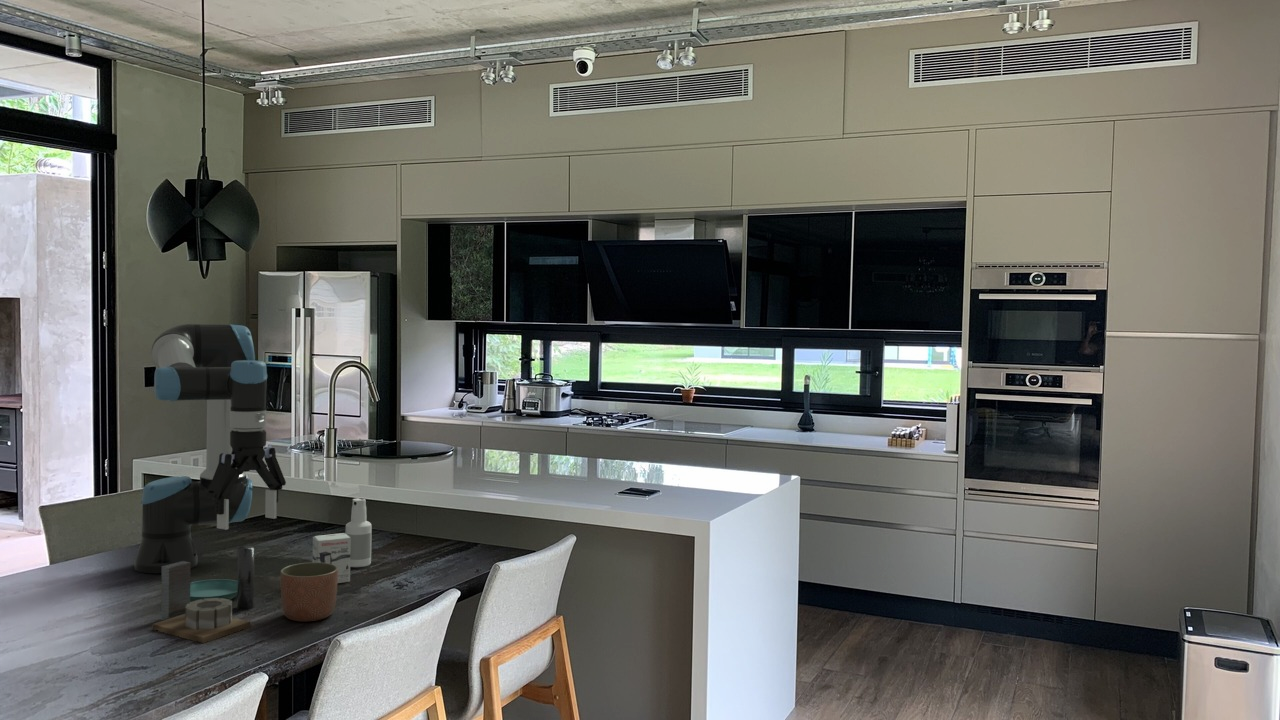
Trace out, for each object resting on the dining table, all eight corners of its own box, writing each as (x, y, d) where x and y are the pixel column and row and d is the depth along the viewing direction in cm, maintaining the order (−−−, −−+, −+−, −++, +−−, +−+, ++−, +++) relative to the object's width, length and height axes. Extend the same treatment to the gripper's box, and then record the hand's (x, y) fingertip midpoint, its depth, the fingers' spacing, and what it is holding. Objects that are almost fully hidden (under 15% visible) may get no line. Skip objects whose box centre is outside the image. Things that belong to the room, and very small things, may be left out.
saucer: (211, 611, 221) (211, 599, 221) (162, 602, 226) (162, 591, 226) (257, 594, 235) (257, 583, 234) (210, 586, 240) (210, 575, 239)
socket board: (152, 629, 206) (152, 605, 206) (200, 614, 217) (200, 592, 217) (203, 643, 199) (203, 618, 199) (250, 627, 210) (250, 603, 210)
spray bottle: (339, 565, 261) (340, 500, 260) (356, 560, 267) (357, 496, 267) (360, 568, 259) (361, 502, 258) (376, 563, 265) (377, 498, 264)
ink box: (316, 586, 242) (317, 540, 241) (311, 581, 246) (312, 535, 245) (350, 582, 246) (351, 536, 246) (345, 577, 251) (345, 532, 250)
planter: (304, 629, 210) (305, 579, 209) (268, 618, 216) (268, 570, 216) (348, 614, 220) (349, 568, 220) (312, 604, 227) (313, 559, 226)
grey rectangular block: (168, 621, 212) (168, 568, 211) (161, 619, 213) (161, 566, 212) (190, 614, 217) (190, 562, 216) (183, 613, 218) (183, 560, 217)
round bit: (233, 608, 223) (234, 548, 222) (246, 604, 226) (246, 545, 225) (244, 610, 221) (245, 550, 220) (257, 606, 224) (257, 547, 223)
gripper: (214, 435, 202) (213, 535, 203) (302, 425, 225) (301, 515, 226) (189, 433, 206) (188, 531, 207) (278, 423, 228) (277, 511, 229)
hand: (247, 523), depth 216 cm, fingers open, 13 cm apart
